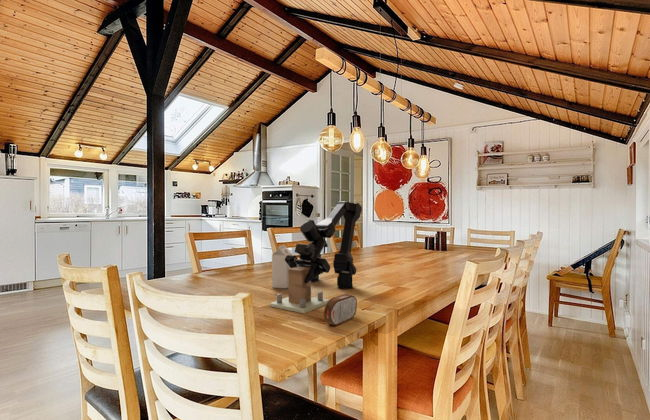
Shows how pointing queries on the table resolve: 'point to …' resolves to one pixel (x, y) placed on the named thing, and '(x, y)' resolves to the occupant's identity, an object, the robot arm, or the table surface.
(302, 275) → the walnut block
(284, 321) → the table surface
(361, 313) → the table surface
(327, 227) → the robot arm
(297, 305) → the peg stand
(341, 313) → the tin
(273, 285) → the milk carton
